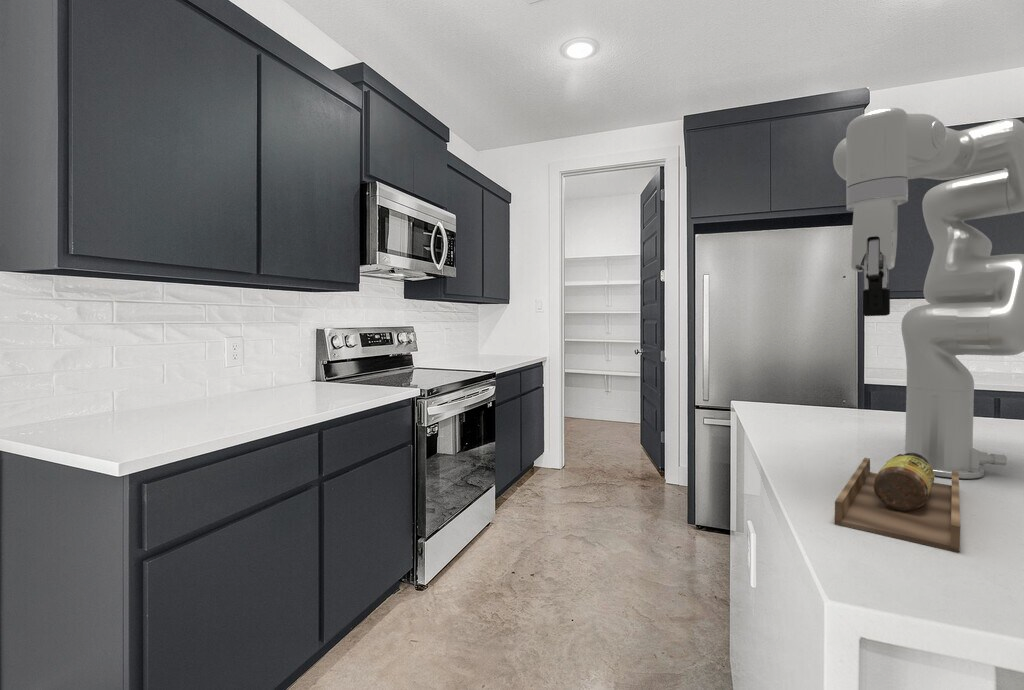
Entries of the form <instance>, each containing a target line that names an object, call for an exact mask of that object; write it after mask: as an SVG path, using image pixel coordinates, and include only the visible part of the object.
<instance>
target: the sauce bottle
mask: <svg viewBox="0 0 1024 690" xmlns="http://www.w3.org/2000/svg"><path fill="white" fill-rule="evenodd" d="M933 483H935V476H934V472H933V470H932V468H931V467H930V465H929V463H928V461H927V460H926V459H925V458H924V457H923V456H922V455H919V454H917V453H906V454H905V453H904V454H902V453H900V454H897V455H895V456H893V457H892V458H890V459H889V460H887V461H886V462H885V464H884V465H883V466H882V467H881V469H880V470H879V471H878V473H877V475H876V476H875V479H874V492H875V494H876V495H877V496H878V498H879V499H880V500H881V501H882V502H883V503H884V504H886V505H887V506H888V507H890V508H894V509H897V510H903V511H911V510H914V509H916V508H918V507H920V506H922V505H923V504H924V503H925V502H926V500H927V498H928V496H929V493H930V490H931V488H932V485H933Z"/></svg>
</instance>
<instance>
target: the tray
mask: <svg viewBox="0 0 1024 690" xmlns="http://www.w3.org/2000/svg"><path fill="white" fill-rule="evenodd" d="M877 474H878V473H877V472H871V458H870V457H863V459H862V461H861V462H860V463H859V465H858V467H857V468H856V470H855V471H854V473H853V474H852V476H851V477H850V479H848V481H847V483H846V485H845V486H844V487H843V488H842V490H841V492H840V493H839V495H838V496H837V498H836V499H835V501H834V525H837V524H839V525H838V526H841V525H844V526H843V527H846V526H847V528H850V527H853V528H852V529H854V528H856V529H855V530H859V529H861V530H860V531H863V530H865V531H864V532H867V531H870V532H869V533H872V532H873V534H876V533H877V535H880V534H881V535H880V536H885V537H888V538H893V537H894V538H893V539H897V540H898V539H899V540H903V541H906V542H907V541H908V542H912V543H915V544H920V545H924V546H929V547H933V548H936V547H937V548H936V549H941V548H942V550H945V549H947V550H946V551H949V550H951V552H954V551H957V552H956V553H958V552H960V551H961V510H960V509H961V508H960V507H961V505H960V480H959V479H960V478H959V471H954V470H952V478H951V484H945V483H940V482H933V485H932V488H931V490H930V493H929V496H928V498H927V500H926V502H925V503H924V504H923V505H922V506H920V507H918V508H916V509H914V510H911V511H903V510H897V509H894V508H890V507H888V506H887V505H886V504H884V503H883V502H882V501H881V500H880V499H879V498H878V496H877V495H876V494H875V492H874V479H875V476H876V475H877Z"/></svg>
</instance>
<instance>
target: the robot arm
mask: <svg viewBox="0 0 1024 690" xmlns="http://www.w3.org/2000/svg"><path fill="white" fill-rule="evenodd" d="M845 132H846V133H845V138H843V139H841V141H840V142H839V143H838V144H837V145H836V147H835V149H834V151H833V156H832V164H833V168H834V170H835V172H836V174H837V175H838V176H839V177H840V178H841V179H842V180H844V181H846V184H845V186H846V187H845V188H846V190H845V191H846V193H845V194H846V196H845V199H846V205H845V206H846V211H847V212H853V213H852V214H853V215H852V233H851V235H852V237H851V263H850V266H851V269H852V270H853V271H855V272H858V273H862V272H863V277H864V278H863V281H864V282H863V283H864V286H863V287H864V290H863V291H862V307H863V308H862V309H863V310H862V315H863V316H864V317H882V316H889V315H890V314H891V289H890V288H889V270H892V269H893V268H895V265H896V257H897V246H898V222H899V221H898V219H899V217H898V211H899V210H898V208H899V207H898V206H901V205H903V204H906V203H907V202H909V180H914V179H929V180H936V181H937V180H939V181H945V182H942V183H939V184H938V185H936V186H934V187H932V188H930V189H928V190H927V192H926V193H925V194H924V196H923V198H922V204H921V205H922V206H921V207H922V214H923V220H924V222H925V226H926V229H927V232H928V235H929V236H930V239H931V242H932V244H933V253H932V256H931V260H930V262H929V265H928V269H927V273H926V277H925V279H924V283H923V284H924V285H923V298H924V299H925V300H926V302H927V303H928V304H925V305H924V304H923V305H919V306H916V307H913V308H911V309H910V310H908V311H907V312H906V313H905V314H904V315H903V318H901V319H902V320H901V328H900V329H901V335H902V340H903V346H904V352H905V358H906V359H905V361H906V362H905V363H906V393H905V394H906V396H905V397H906V400H905V403H906V405H905V440H904V441H905V447H904V450H905V451H904V452H905V453H904V454H906V453H917V454H919V455H922V456H923V457H924V458H925V459H926V460H927V461H928V463H929V465H930V467H931V468H932V470H933V472H934V477H941V478H951V479H952V470H954V471H959V479H969V480H970V479H980V478H982V477H984V475H985V470H984V469H983V468H982V467H984V466H985V465H986V464H987V465H988V464H989V465H994V466H1006V465H1007V463H1008V459H1007V456H1006V455H1005V454H999V453H997V454H996V453H990V454H989V452H986V451H985V452H984V451H981V450H979V449H975V448H973V441H974V404H975V403H974V401H975V400H974V398H975V381H974V377H973V375H972V373H971V371H970V370H969V369H968V368H967V367H966V366H965V365H964V364H963V362H961V361H960V360H959V359H958V357H956V356H1001V357H1003V356H1004V357H1005V356H1015V355H1019V354H1022V353H1024V253H1008V254H1007V253H1006V254H998V255H991V253H992V249H993V243H992V241H991V240H990V238H989V237H988V236H987V235H986V234H985V233H983V232H982V231H980V230H979V229H977V228H975V227H974V226H972V225H969V224H967V223H965V222H966V221H970V220H971V221H972V220H976V219H983V218H991V217H996V216H997V217H998V216H1003V215H1004V216H1005V215H1011V214H1018V213H1022V212H1024V122H1023V121H1022V120H1019V119H1017V118H1004V119H1001V120H997V121H993V122H990V123H985V124H981V125H977V126H974V127H971V128H967V129H963V130H955V129H953V128H950V127H946V126H945V125H944V123H943V122H942V121H940V120H939V119H938V117H936V116H933V115H931V114H928V113H908V112H907V111H905V110H904V109H902V108H899V107H885V108H879V109H874V110H872V111H868V112H866V113H863V114H861V115H858V116H857V117H855V118H854V119H852V120H851V121H850V122H849V123H848V125H847V127H846V131H845ZM946 180H948V181H946ZM981 466H982V467H981Z"/></svg>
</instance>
